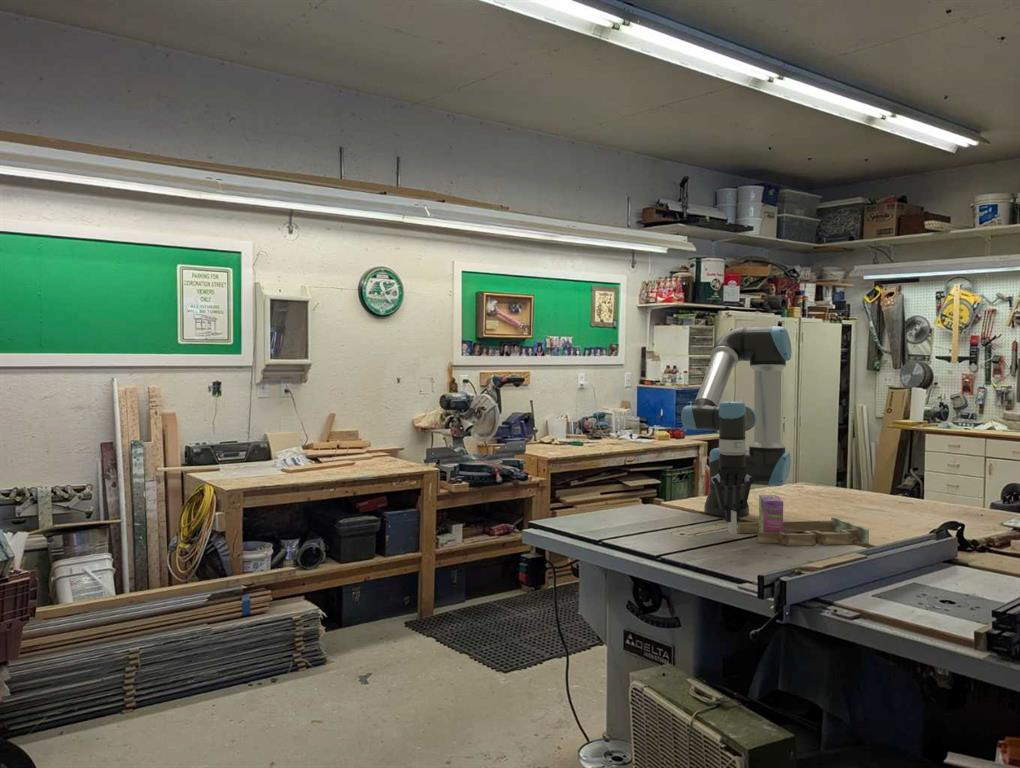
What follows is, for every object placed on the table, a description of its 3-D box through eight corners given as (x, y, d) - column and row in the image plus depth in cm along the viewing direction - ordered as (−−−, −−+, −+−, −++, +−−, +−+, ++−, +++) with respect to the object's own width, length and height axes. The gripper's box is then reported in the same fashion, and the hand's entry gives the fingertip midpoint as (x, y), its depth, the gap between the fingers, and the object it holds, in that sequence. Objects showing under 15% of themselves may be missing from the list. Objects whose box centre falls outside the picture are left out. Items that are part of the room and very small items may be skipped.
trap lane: (738, 532, 236) (738, 519, 235) (834, 529, 239) (834, 517, 239) (764, 546, 217) (764, 532, 217) (868, 543, 220) (868, 529, 220)
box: (783, 541, 223) (783, 500, 223) (762, 540, 224) (762, 500, 224) (778, 534, 233) (778, 495, 233) (758, 533, 234) (758, 494, 234)
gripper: (715, 455, 223) (715, 536, 223) (758, 454, 224) (758, 535, 225) (706, 452, 230) (706, 530, 231) (748, 451, 232) (748, 529, 232)
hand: (732, 532), depth 228 cm, fingers closed
